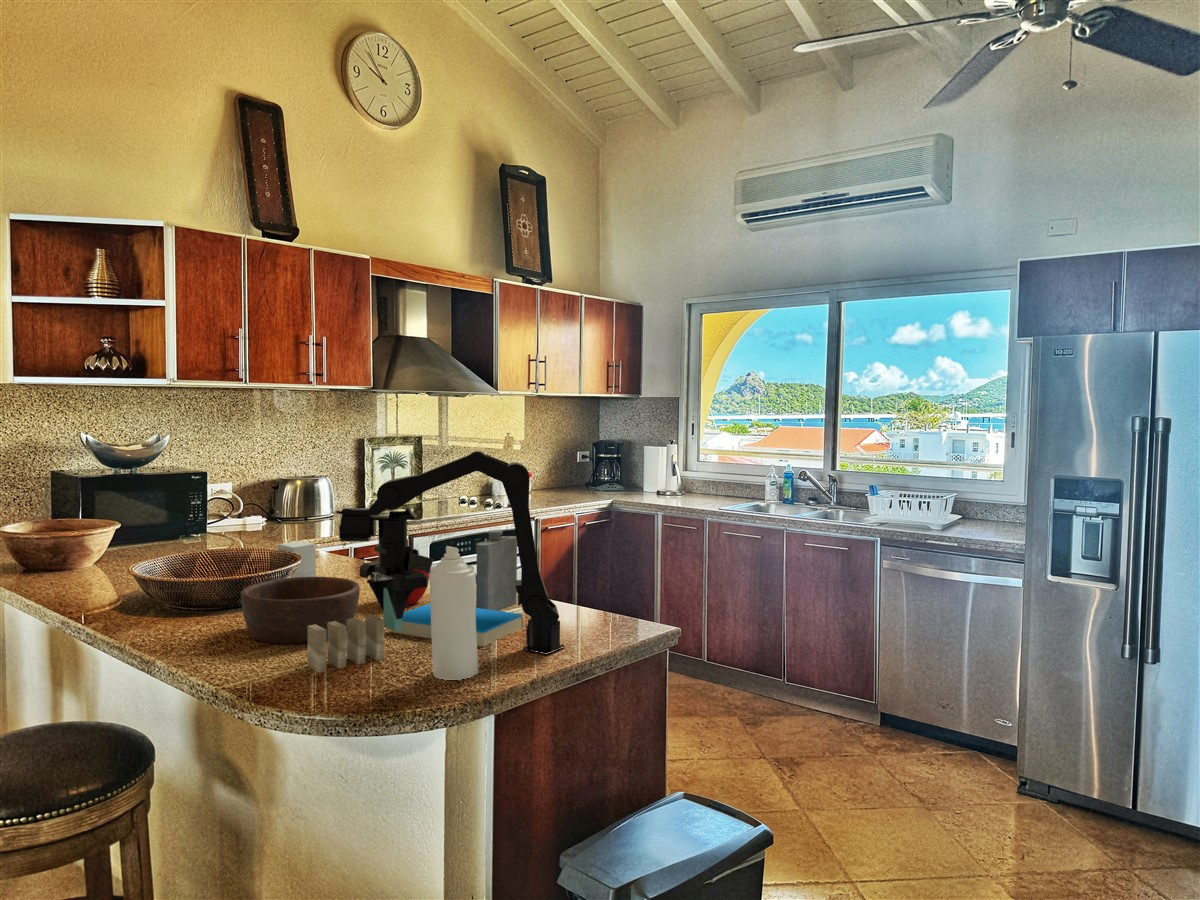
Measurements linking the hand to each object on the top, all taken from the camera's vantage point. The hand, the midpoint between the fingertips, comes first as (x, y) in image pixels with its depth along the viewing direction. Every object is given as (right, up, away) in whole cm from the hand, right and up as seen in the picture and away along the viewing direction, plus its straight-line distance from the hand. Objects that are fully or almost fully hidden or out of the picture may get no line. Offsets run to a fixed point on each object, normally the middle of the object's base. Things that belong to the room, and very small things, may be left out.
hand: (392, 616), depth 167 cm
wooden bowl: (-24, -7, +15) cm, 29 cm away
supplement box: (-41, -5, +58) cm, 71 cm away
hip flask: (+16, -6, +39) cm, 42 cm away
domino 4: (-3, -8, -2) cm, 9 cm away
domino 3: (-6, -8, -5) cm, 11 cm away
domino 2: (-9, -8, -8) cm, 14 cm away
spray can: (+15, -9, -14) cm, 22 cm away
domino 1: (-12, -8, -10) cm, 18 cm away
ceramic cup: (-8, -6, +46) cm, 47 cm away
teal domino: (0, -2, 0) cm, 2 cm away
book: (+10, -8, +18) cm, 22 cm away
